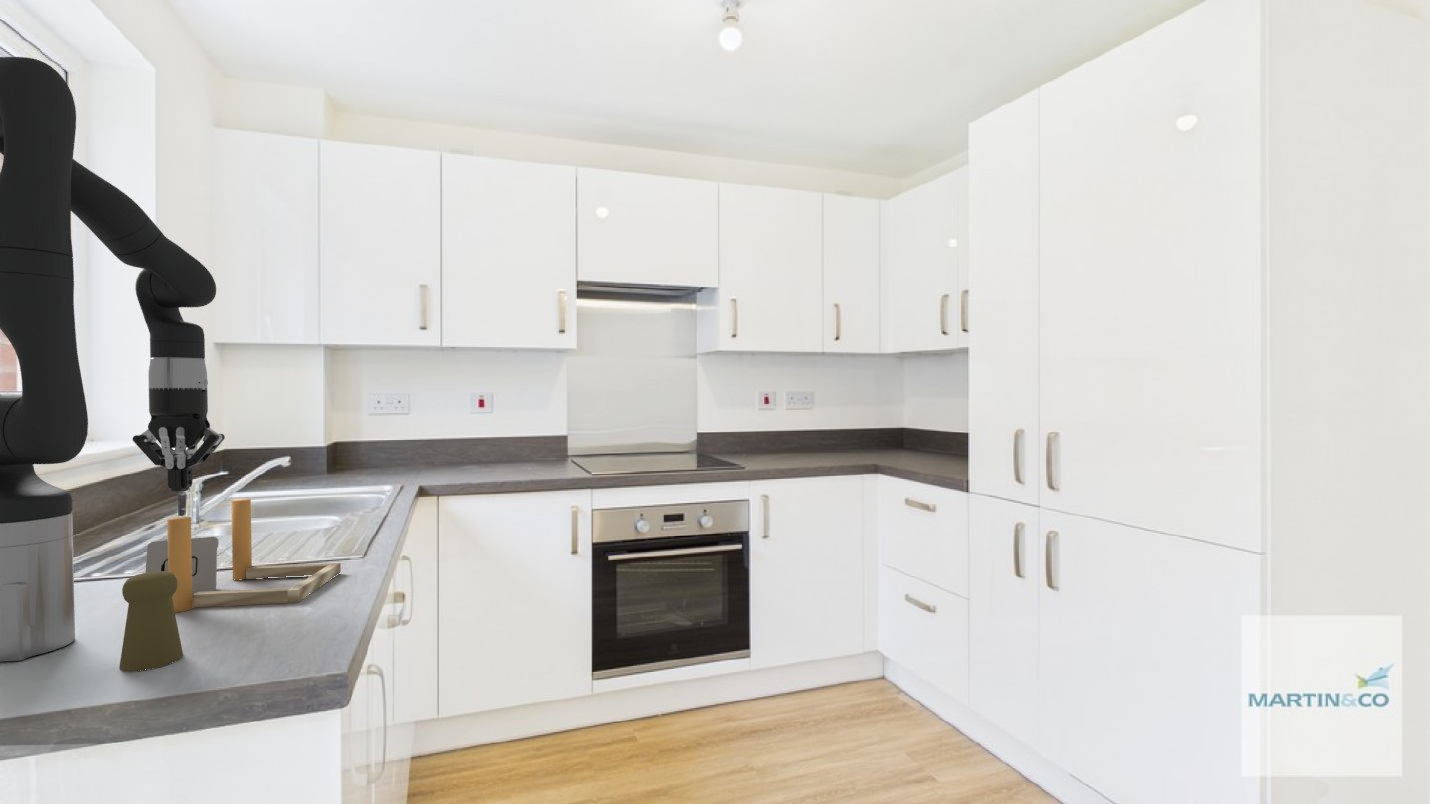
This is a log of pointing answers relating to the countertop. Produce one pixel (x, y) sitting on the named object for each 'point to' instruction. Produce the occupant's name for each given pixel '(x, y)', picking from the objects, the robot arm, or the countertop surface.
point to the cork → (150, 622)
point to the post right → (241, 537)
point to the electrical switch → (201, 561)
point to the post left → (180, 561)
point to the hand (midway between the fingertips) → (180, 491)
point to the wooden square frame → (273, 595)
